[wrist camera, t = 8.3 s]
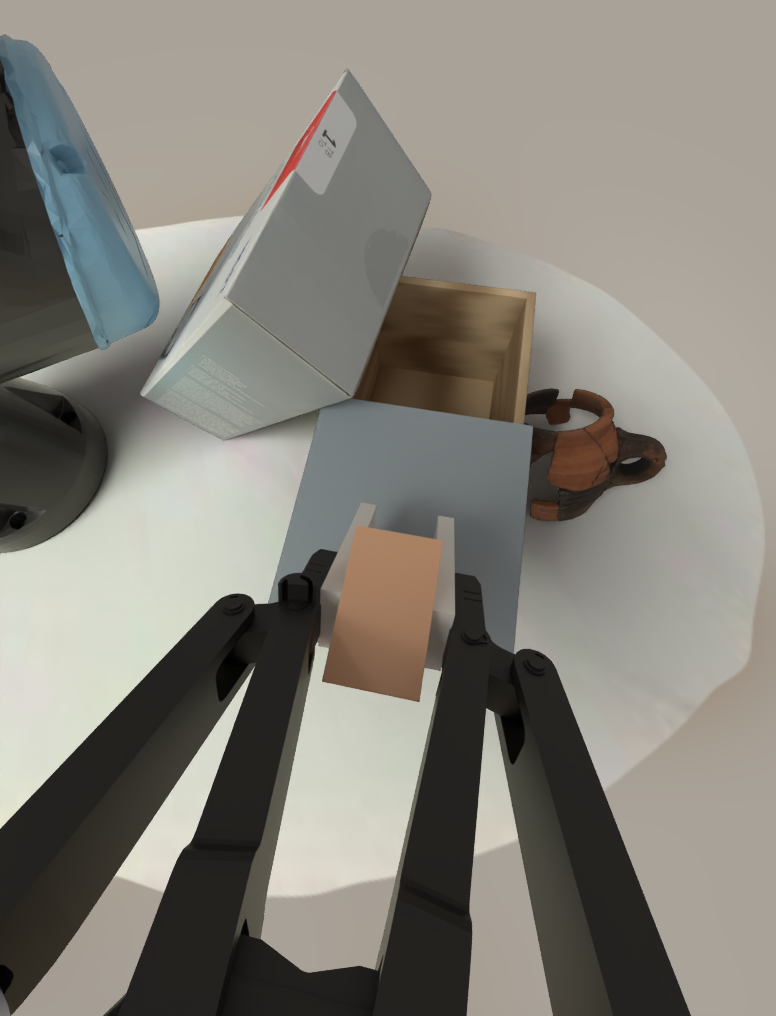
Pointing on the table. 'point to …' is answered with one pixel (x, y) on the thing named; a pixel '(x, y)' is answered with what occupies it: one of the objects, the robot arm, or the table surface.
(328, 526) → the lid
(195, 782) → the table surface
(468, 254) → the table surface
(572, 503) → the pottery mug
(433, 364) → the carton
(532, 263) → the table surface
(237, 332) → the hard drive box
